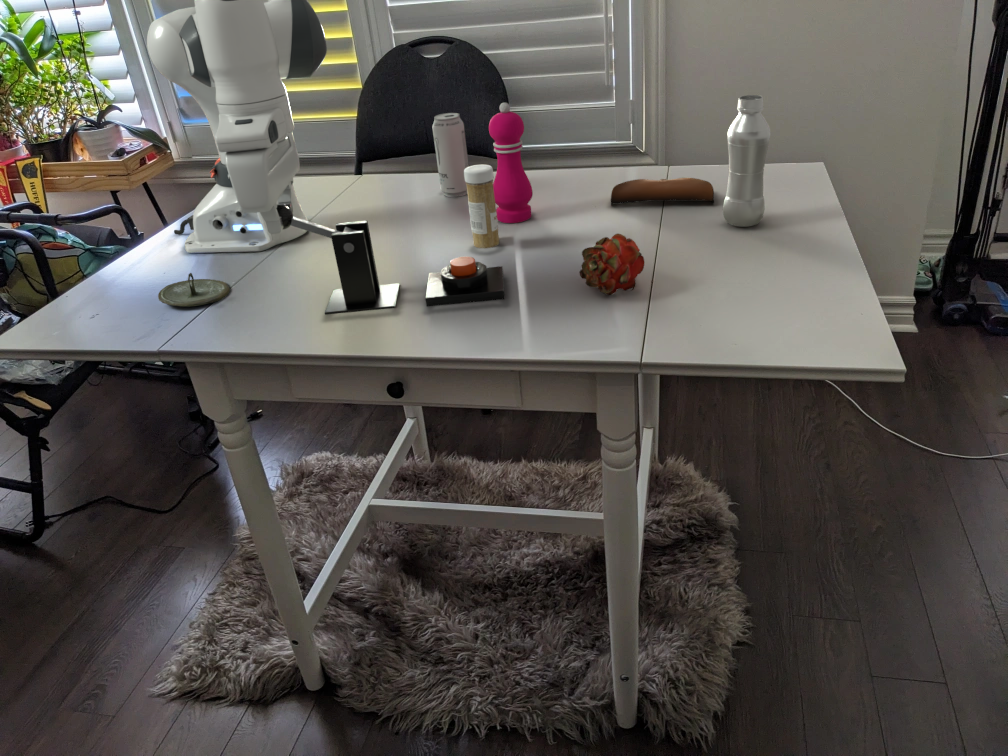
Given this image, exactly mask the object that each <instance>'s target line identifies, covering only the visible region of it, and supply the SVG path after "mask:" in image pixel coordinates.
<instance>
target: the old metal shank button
mask: <svg viewBox="0 0 1008 756" xmlns="http://www.w3.org/2000/svg"><path fill="white" fill-rule="evenodd" d="M230 291H231V288H230V287H229V285H228V283H227V282H226V281H223V280H220V279H219V280H218V279H210V278H197V279H195V278H194V275H193V273H192V272H189V273H188V276H187V279H186V280H181V281H177V282H174V283H173V282H172V283H171V284H170V283H169V284H168V285H165V286H164V287H163V288H161V290H160V291H159V292H158V294H157V299H158V301H159V302H161V303H162V304H165V305H168V306H174V307H197V306H198V307H199V306H203V305H208V304H212V303H216V302H219V301H221V300H223V299H225V298H226V297H227V296H229V294H230Z"/></svg>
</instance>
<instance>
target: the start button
mask: <svg viewBox="0 0 1008 756" xmlns="http://www.w3.org/2000/svg"><path fill="white" fill-rule="evenodd" d="M475 262H476V259H475V258H474V257H472V256H464V255H463V256H458V257H455V258H453V259H451V260H450V262H449V265H450V267H451V274H452V275H455V276H466V275H470V274H473V273H475V272H476V263H475Z"/></svg>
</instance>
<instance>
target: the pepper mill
mask: <svg viewBox="0 0 1008 756" xmlns="http://www.w3.org/2000/svg"><path fill="white" fill-rule="evenodd" d="M510 110H511V106H510V104H509V103H508V102H502V103H500V105H499V111H500V112H498V113H496V114H495V115H493V116H492V117H491V118H490V120H489V124H488V131H489V136H490V137H491V138H492V139H493V140H494V142H493V144H492V145H493V152H494V153H496V158H497V160H496V161H497V168H496V173H495V176H494V178H493V189H494V198H495V204H496V206H498V207H496V213H497V222H500V223H503V224H518V223H523V222H526V221H529V220H530V219H531V218H532V216H533V215H532V206H531V205H530V204H529V203H530V202H531V200H532V198H533V195H534V194H533V193H534V191H533V187H532V184H531V181H530V178H529V177H528V175H527V174H526V171H525V169H524V166H523V163H522V157H521V156H522V155H521V151H522V150H523V148H524V146H523V140H522V139H521V137H522V136H523V134H524V132H525V124H524V120H523V119H522V117H521V116H520V115H519V114H518V113H516V112H514V111H510Z"/></svg>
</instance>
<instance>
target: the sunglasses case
mask: <svg viewBox="0 0 1008 756" xmlns="http://www.w3.org/2000/svg"><path fill="white" fill-rule="evenodd" d="M649 201H650V202H669V201H670V202H671V201H677V202H687V201H692V202H693V201H704V202H705V201H706V202H711V203H712V204H715V189H714V187H713V184H712V183H711V182H709V181H708V180H704V179H700V178H695V177H678V178H672V179H671V178H670V179H667V178H661V179H646V178H638V179H631V180H627V181H623V182H620V183H618V184H616V185H614V186H613V188H612V190H611V194H610V206H613V205H620V204H630V203H631V204H632V203H633V204H634V203H637V202H639V203H642V202H649Z"/></svg>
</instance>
